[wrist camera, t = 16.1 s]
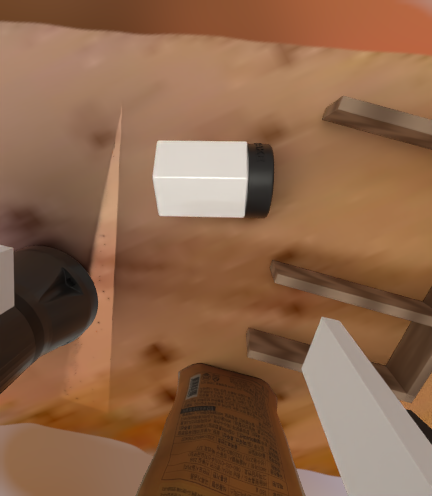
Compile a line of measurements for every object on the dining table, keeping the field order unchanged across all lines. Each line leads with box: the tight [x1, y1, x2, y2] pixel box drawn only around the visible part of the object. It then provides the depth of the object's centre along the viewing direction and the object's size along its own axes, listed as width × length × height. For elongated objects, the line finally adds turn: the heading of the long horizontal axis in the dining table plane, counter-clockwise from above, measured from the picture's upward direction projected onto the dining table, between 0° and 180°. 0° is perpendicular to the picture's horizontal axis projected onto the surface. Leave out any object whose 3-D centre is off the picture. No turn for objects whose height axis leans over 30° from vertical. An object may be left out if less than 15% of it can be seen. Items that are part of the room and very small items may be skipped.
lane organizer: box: [246, 96, 432, 403], centre depth 31 cm, size 22×32×5 cm
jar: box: [152, 140, 274, 218], centre depth 29 cm, size 9×8×12 cm
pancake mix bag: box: [136, 363, 305, 496], centre depth 28 cm, size 7×19×28 cm, turn 77°
